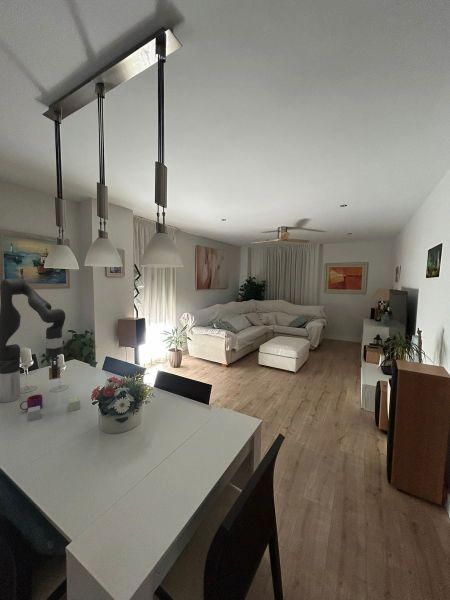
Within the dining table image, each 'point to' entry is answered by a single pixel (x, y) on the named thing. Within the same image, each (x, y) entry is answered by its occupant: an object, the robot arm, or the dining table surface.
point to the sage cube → (74, 404)
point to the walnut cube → (51, 373)
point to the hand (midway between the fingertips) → (54, 376)
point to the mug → (33, 401)
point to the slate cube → (33, 413)
